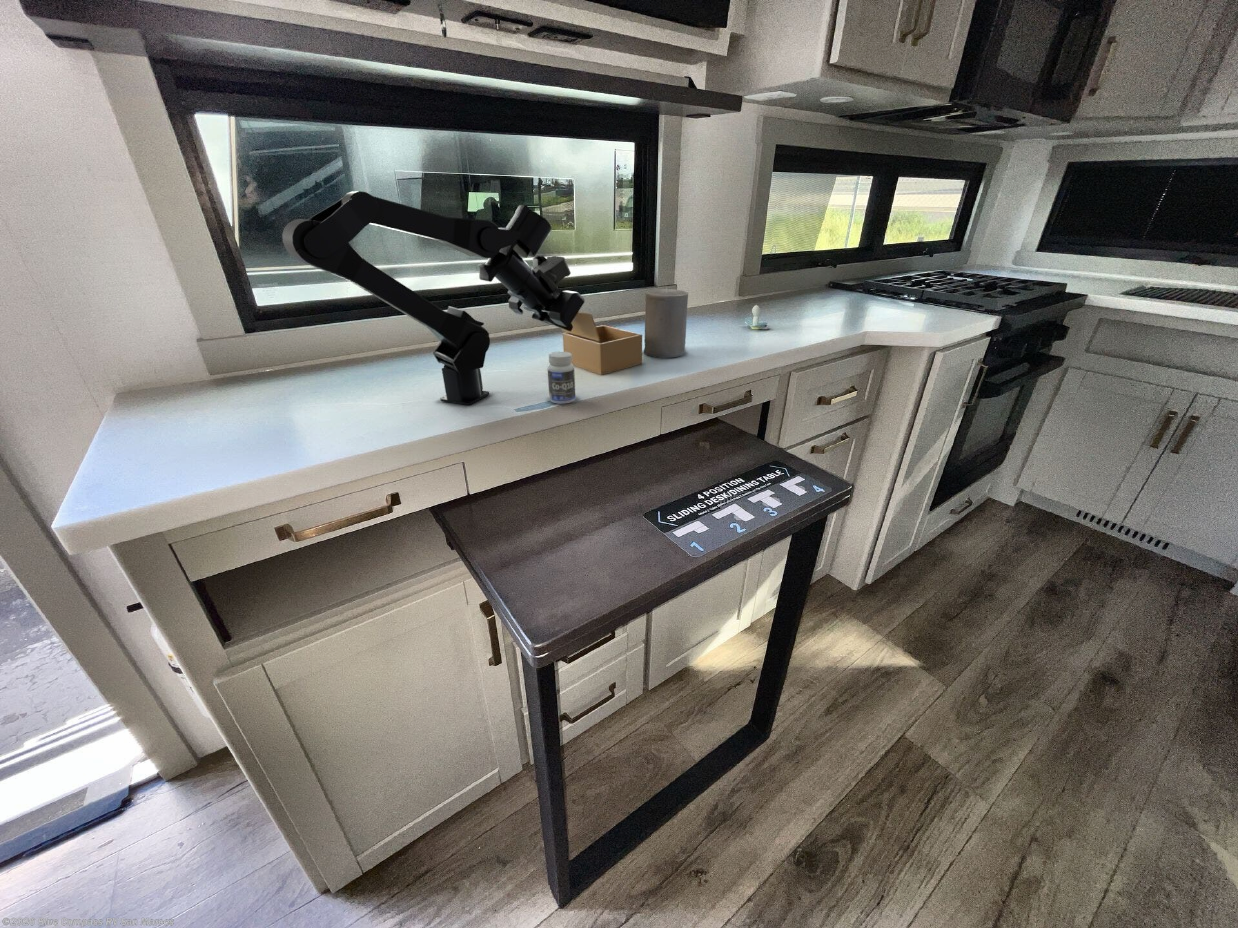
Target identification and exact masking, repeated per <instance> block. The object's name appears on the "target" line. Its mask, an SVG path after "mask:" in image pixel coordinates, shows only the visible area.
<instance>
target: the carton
mask: <svg viewBox="0 0 1238 928" xmlns="http://www.w3.org/2000/svg"><path fill="white" fill-rule="evenodd" d="M596 329H597V332H598V335H599V338H600V341H596V340H593V339H589V338H586V337H582V336H578V335H575V334H571V333H568V332H563V333H562V347H563V352H569V353H571V355H572V362H571V363H572V364H573V365H574V367H577V368H580V369H583V370H585V371H589V372H591V373H594V374H597V375H600V376H602V375H606V374H610V373H613V372H616V371H621V370H624V369H628V368H631V367H634V366H639V365H642V364H643V334H641V333H637V332H633V331H629V330H625V329H621V328H617V327H613V326H608V325H605V324H603V325H598V326H596Z"/></svg>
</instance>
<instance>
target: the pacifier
mask: <svg viewBox="0 0 1238 928" xmlns="http://www.w3.org/2000/svg"><path fill="white" fill-rule="evenodd" d="M751 312H752V313H751V314H752V315H753V317H750V316H747V317H746V318H744V323H745V324H746V325H747V326H750V329H752V330H769V329H771V326H770V325H769V324H768V322H765V321H762V320H760V317H761V315H762V311H761V308H760V306H759V305H757V304H756V305H754V306H753V307H752V309H751Z"/></svg>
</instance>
